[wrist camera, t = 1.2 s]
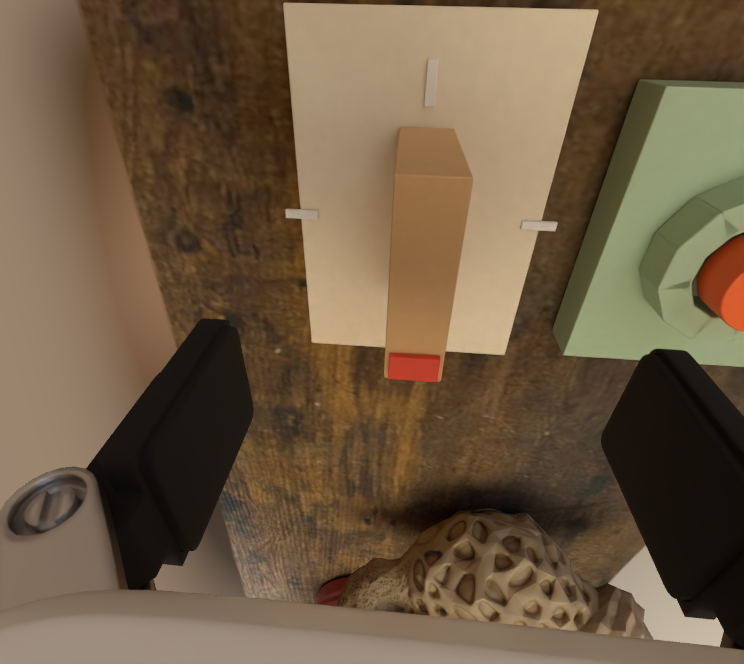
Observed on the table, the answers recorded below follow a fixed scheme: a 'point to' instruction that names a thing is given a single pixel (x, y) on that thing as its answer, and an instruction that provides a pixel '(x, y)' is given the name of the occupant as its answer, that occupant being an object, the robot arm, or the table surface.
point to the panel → (427, 110)
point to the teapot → (493, 579)
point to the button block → (661, 228)
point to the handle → (424, 250)
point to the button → (725, 283)
